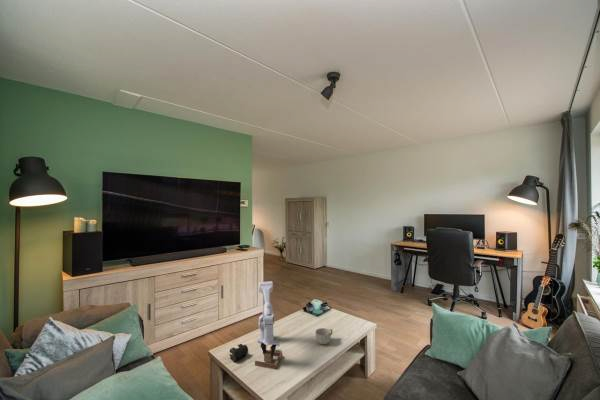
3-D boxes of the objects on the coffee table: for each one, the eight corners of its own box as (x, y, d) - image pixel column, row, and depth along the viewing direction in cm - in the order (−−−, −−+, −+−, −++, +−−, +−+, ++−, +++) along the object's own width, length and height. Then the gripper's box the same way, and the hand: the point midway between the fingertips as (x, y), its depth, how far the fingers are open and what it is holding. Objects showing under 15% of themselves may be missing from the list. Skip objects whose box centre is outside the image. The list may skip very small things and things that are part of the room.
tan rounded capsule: (271, 349, 175) (271, 342, 175) (276, 350, 174) (276, 343, 174) (269, 352, 171) (269, 345, 171) (274, 353, 170) (274, 346, 170)
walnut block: (266, 356, 165) (266, 350, 165) (273, 358, 164) (273, 351, 164) (263, 361, 161) (264, 354, 161) (270, 362, 159) (270, 355, 159)
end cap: (235, 363, 159) (235, 353, 159) (229, 359, 164) (229, 348, 164) (248, 356, 167) (248, 346, 167) (241, 352, 172) (241, 342, 172)
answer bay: (263, 353, 170) (263, 349, 170) (282, 356, 167) (282, 352, 167) (254, 365, 158) (254, 361, 158) (275, 369, 154) (275, 365, 154)
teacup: (319, 347, 176) (319, 336, 176) (312, 339, 187) (313, 329, 186) (337, 343, 182) (337, 332, 182) (329, 336, 192) (329, 325, 192)
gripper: (255, 335, 160) (255, 357, 160) (277, 338, 156) (277, 361, 156) (260, 330, 167) (260, 350, 167) (281, 333, 163) (281, 354, 163)
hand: (268, 355), depth 162 cm, fingers closed on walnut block, 4 cm apart
